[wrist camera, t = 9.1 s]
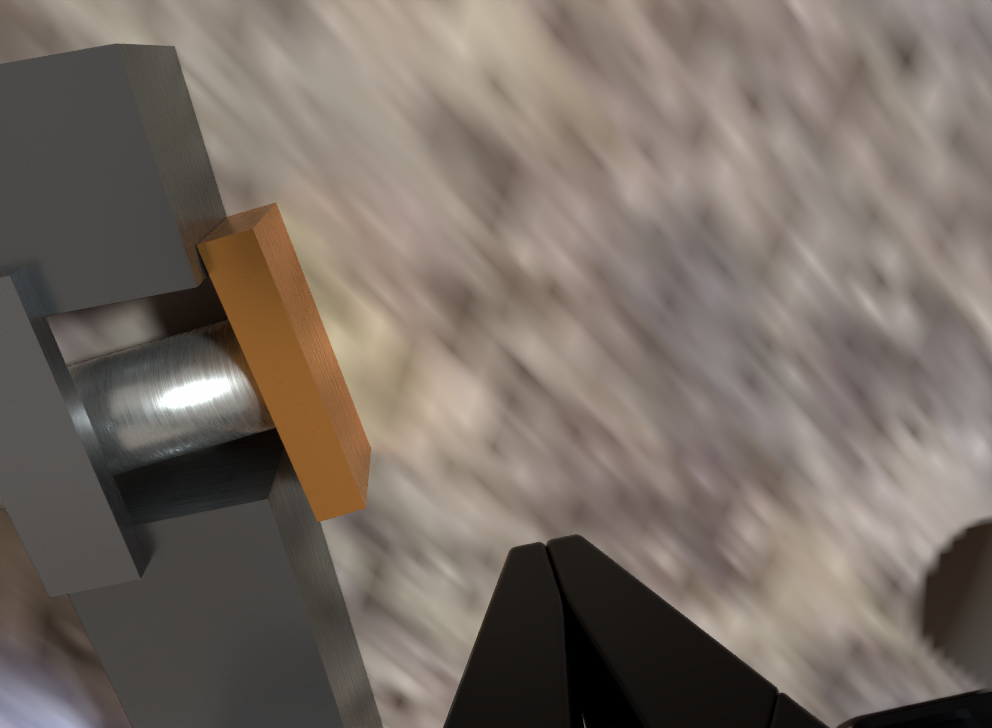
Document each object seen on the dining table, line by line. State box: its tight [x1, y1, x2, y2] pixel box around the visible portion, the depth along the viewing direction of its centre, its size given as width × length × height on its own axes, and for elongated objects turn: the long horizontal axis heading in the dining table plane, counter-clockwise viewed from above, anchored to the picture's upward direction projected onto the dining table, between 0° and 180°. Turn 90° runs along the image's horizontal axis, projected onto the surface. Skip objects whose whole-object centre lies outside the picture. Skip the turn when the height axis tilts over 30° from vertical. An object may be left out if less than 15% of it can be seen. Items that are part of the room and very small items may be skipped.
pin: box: [0, 203, 371, 522], centre depth 18 cm, size 10×7×3 cm
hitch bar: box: [0, 44, 383, 728], centre depth 19 cm, size 5×21×4 cm, turn 9°
